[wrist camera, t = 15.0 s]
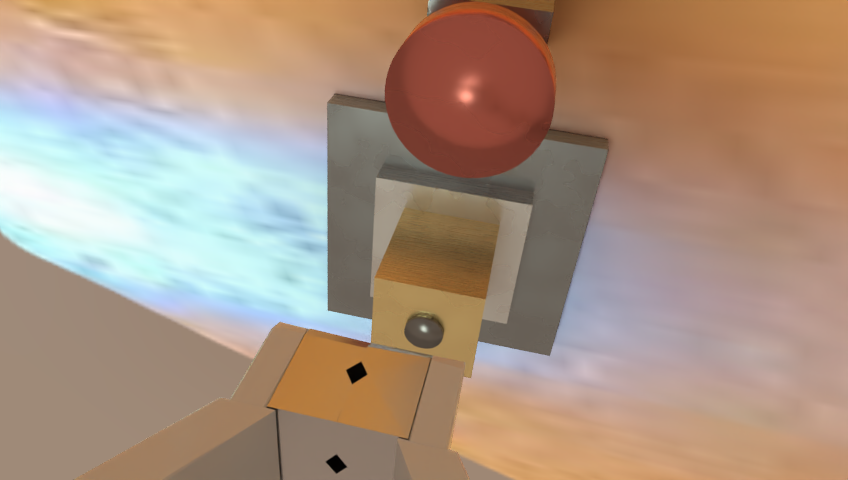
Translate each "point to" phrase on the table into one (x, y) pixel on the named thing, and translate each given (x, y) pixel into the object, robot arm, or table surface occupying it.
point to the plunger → (472, 90)
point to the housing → (434, 285)
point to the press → (463, 210)
